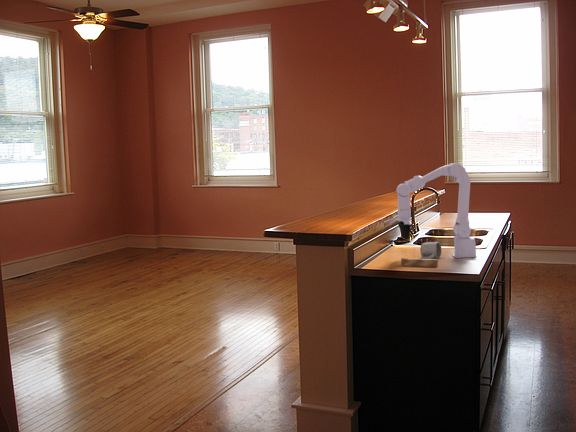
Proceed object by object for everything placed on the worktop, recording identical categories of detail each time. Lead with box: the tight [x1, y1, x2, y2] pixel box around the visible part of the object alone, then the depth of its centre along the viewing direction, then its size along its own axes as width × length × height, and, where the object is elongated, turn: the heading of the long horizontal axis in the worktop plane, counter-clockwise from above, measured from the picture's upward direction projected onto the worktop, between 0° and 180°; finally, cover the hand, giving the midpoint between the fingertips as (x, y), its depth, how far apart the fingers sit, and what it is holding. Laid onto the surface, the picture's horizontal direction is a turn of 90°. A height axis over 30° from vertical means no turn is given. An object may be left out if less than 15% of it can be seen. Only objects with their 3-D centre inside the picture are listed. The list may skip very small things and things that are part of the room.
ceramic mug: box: [420, 241, 442, 259], centre depth 305 cm, size 11×8×8 cm
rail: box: [400, 257, 439, 268], centre depth 287 cm, size 16×2×3 cm, turn 64°
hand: (405, 237), depth 306 cm, fingers open, 7 cm apart
